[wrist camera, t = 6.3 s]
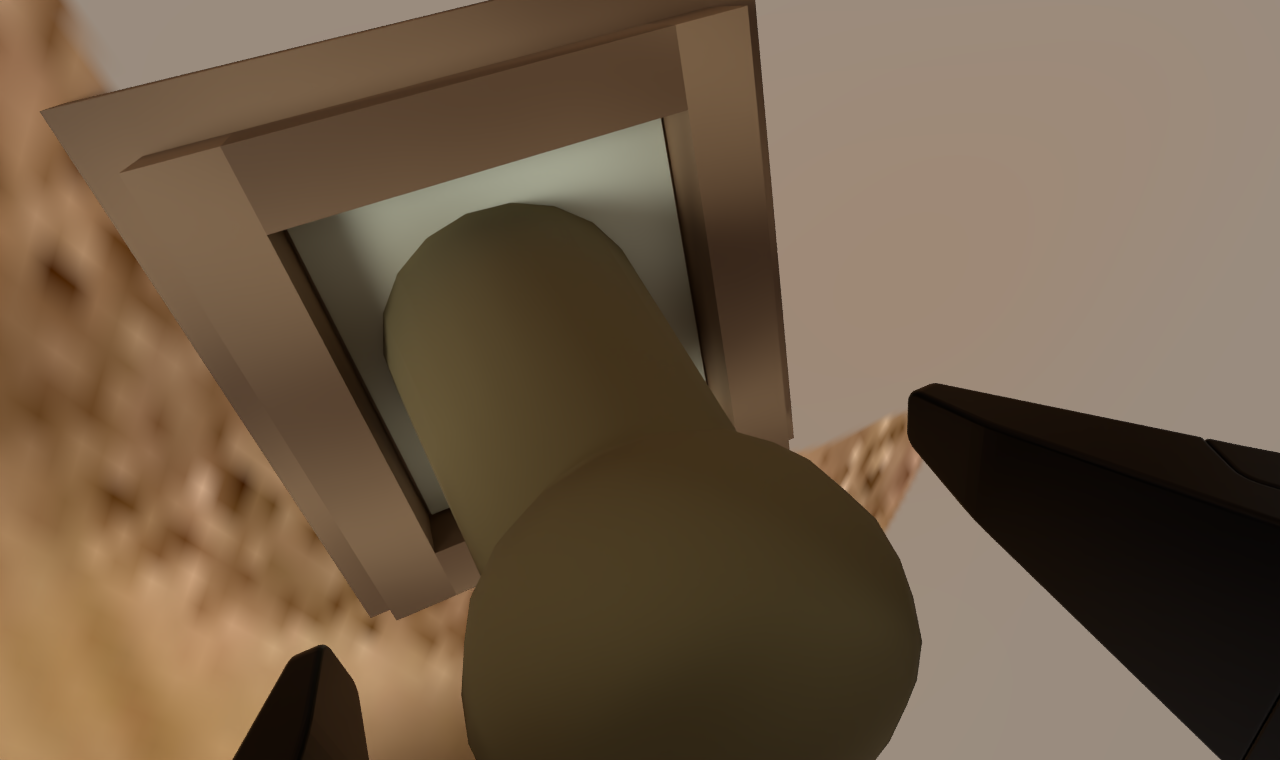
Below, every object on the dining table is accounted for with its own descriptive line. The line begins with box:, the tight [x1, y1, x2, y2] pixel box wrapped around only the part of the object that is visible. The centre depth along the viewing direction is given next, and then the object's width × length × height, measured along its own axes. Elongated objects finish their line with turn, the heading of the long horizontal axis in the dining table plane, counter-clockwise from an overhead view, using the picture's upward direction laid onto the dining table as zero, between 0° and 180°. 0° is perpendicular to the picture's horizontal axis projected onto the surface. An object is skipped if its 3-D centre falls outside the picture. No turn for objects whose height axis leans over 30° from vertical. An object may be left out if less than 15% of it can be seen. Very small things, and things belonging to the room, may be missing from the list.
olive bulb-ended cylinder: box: [383, 203, 922, 760], centre depth 11 cm, size 6×6×11 cm
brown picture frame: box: [40, 0, 794, 620], centre depth 15 cm, size 13×13×2 cm
